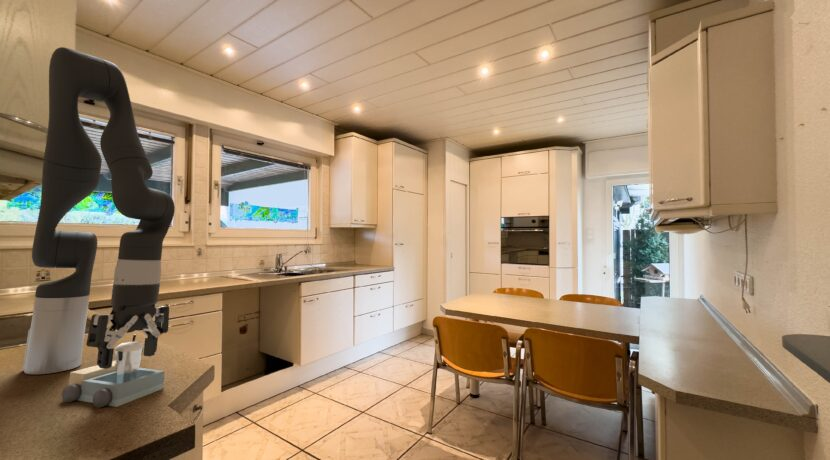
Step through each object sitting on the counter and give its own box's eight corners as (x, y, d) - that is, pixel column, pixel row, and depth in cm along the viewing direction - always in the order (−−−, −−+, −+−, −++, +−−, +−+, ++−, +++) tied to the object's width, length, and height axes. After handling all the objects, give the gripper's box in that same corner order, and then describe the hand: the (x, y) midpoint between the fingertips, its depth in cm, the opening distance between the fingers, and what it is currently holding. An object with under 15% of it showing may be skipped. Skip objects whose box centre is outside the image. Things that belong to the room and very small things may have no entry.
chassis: (56, 400, 63) (59, 375, 63) (120, 380, 74) (122, 358, 75) (109, 409, 60) (112, 382, 61) (167, 386, 71) (170, 364, 72)
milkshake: (143, 381, 71) (148, 333, 72) (135, 390, 66) (141, 339, 67) (115, 384, 69) (121, 335, 70) (105, 394, 64) (112, 341, 65)
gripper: (114, 284, 61) (103, 375, 60) (182, 280, 75) (175, 353, 74) (83, 282, 63) (72, 370, 61) (155, 278, 77) (147, 350, 75)
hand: (128, 361), depth 68 cm, fingers open, 8 cm apart
